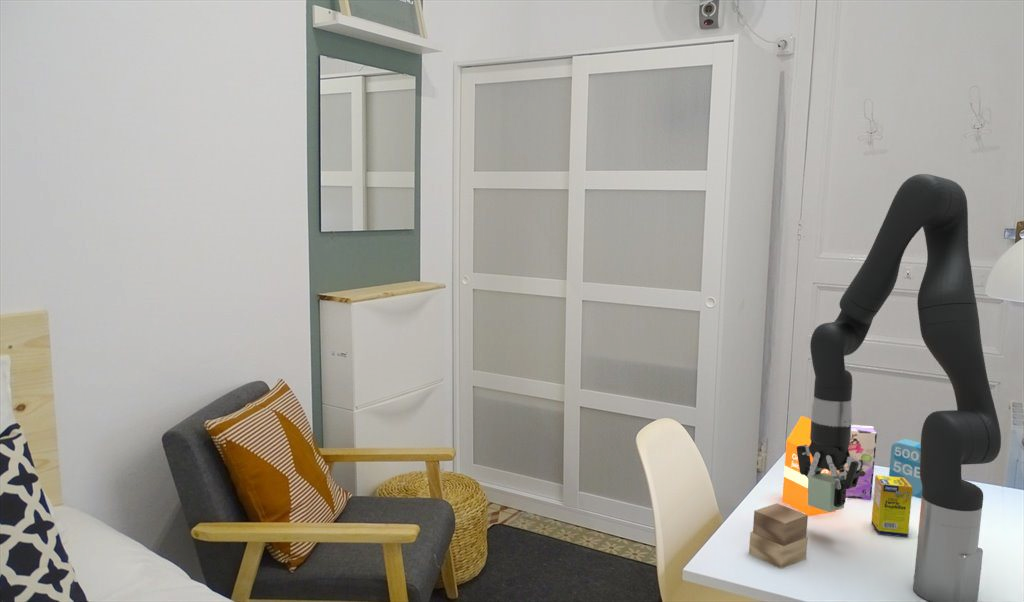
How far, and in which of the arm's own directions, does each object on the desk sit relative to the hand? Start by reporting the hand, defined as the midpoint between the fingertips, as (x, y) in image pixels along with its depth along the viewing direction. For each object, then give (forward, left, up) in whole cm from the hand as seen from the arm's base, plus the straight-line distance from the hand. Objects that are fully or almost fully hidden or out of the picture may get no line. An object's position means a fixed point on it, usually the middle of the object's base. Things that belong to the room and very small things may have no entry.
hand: (826, 501), depth 160 cm
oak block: (-1, +15, -8) cm, 17 cm away
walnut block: (-1, +15, -4) cm, 16 cm away
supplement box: (-5, -16, -8) cm, 18 cm away
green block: (0, 0, -1) cm, 1 cm away
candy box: (+14, -26, -8) cm, 31 cm away
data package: (+4, -42, -8) cm, 43 cm away
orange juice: (+12, -12, -8) cm, 19 cm away
